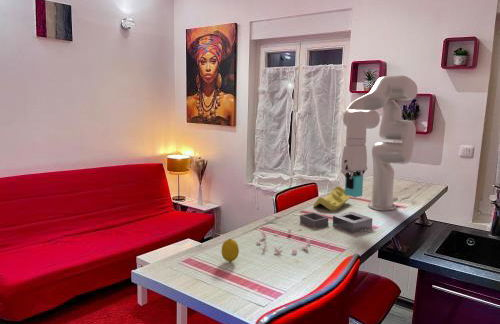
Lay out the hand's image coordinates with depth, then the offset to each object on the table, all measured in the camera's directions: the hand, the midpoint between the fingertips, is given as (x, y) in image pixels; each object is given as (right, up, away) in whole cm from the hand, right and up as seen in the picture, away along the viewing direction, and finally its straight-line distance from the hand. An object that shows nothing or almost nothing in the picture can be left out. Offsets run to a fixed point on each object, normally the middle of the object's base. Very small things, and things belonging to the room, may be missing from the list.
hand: (353, 187), depth 149 cm
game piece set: (-29, -20, -14) cm, 38 cm away
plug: (0, -3, +1) cm, 3 cm away
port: (0, -16, +3) cm, 17 cm away
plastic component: (-1, -12, +33) cm, 35 cm away
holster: (-15, -16, +7) cm, 23 cm away
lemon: (-48, -23, -30) cm, 61 cm away
